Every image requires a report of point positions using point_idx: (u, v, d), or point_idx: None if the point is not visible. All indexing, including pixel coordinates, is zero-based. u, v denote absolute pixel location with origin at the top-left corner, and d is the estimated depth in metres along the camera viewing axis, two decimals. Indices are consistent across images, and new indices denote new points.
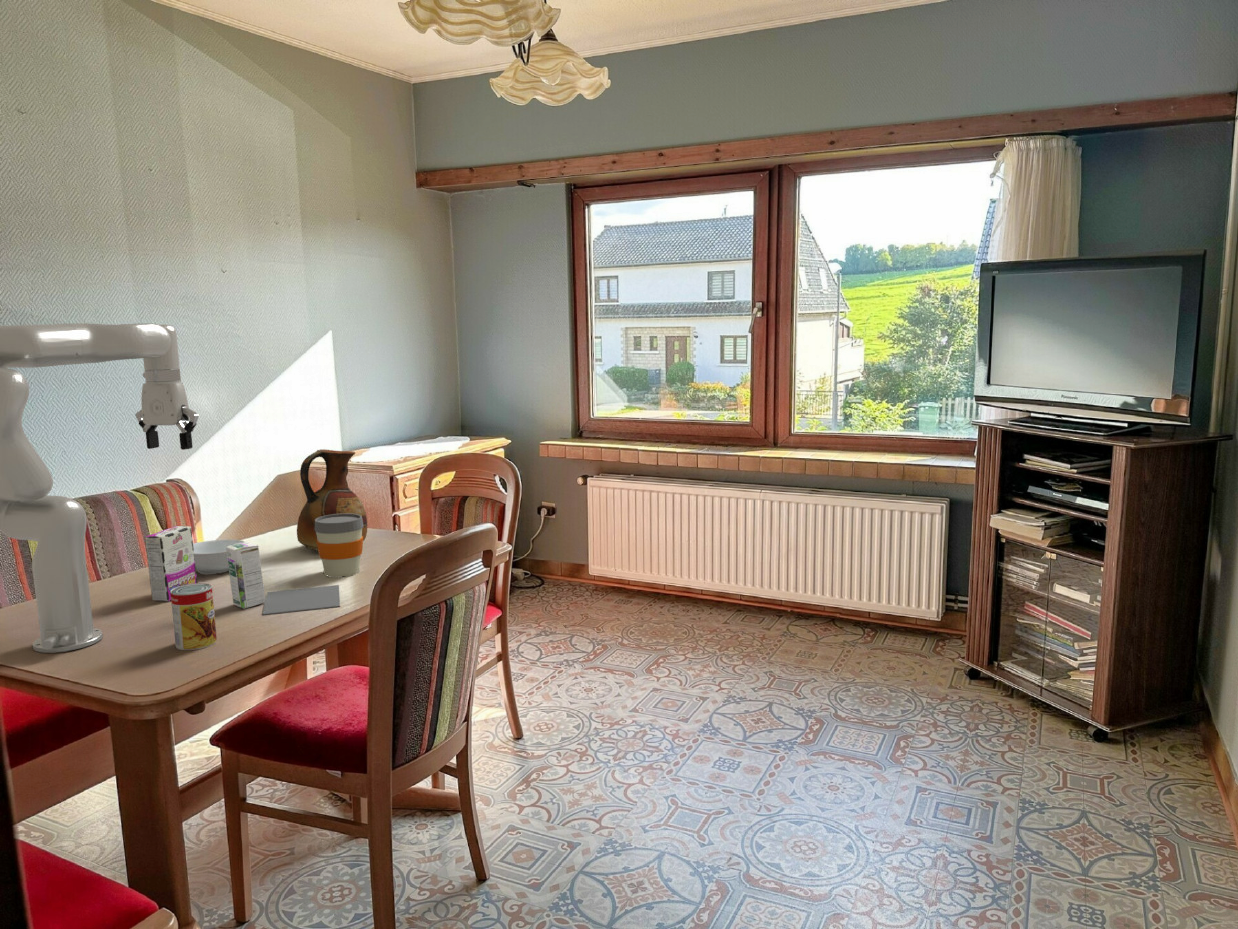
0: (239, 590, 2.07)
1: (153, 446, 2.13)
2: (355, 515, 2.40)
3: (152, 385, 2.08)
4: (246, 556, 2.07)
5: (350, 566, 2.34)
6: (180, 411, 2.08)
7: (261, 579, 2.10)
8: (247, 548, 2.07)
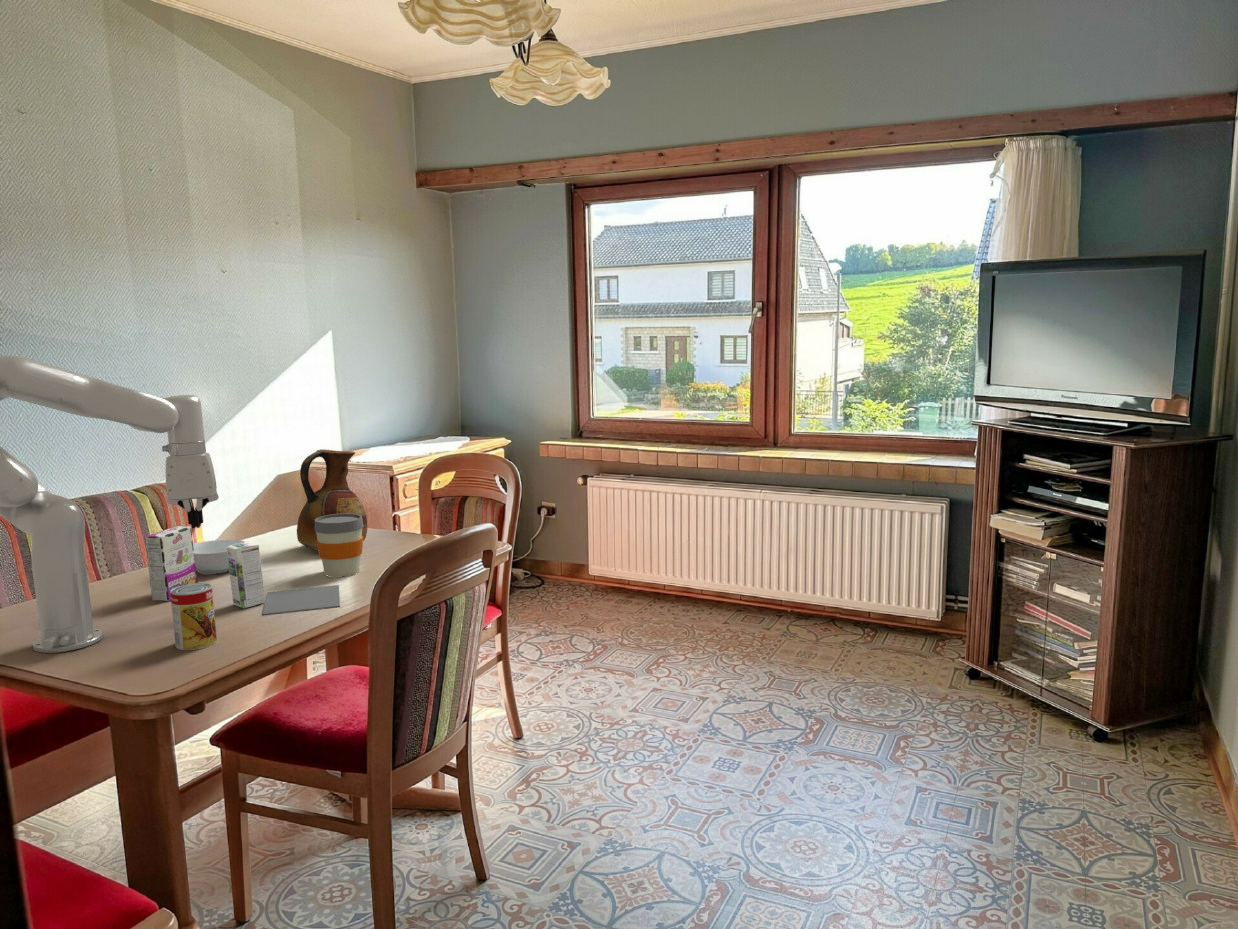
0: (239, 589, 2.07)
1: (195, 525, 2.05)
2: (355, 515, 2.40)
3: (183, 458, 2.00)
4: (246, 555, 2.07)
5: (350, 566, 2.34)
6: (214, 482, 2.05)
7: (261, 578, 2.11)
8: (248, 547, 2.08)
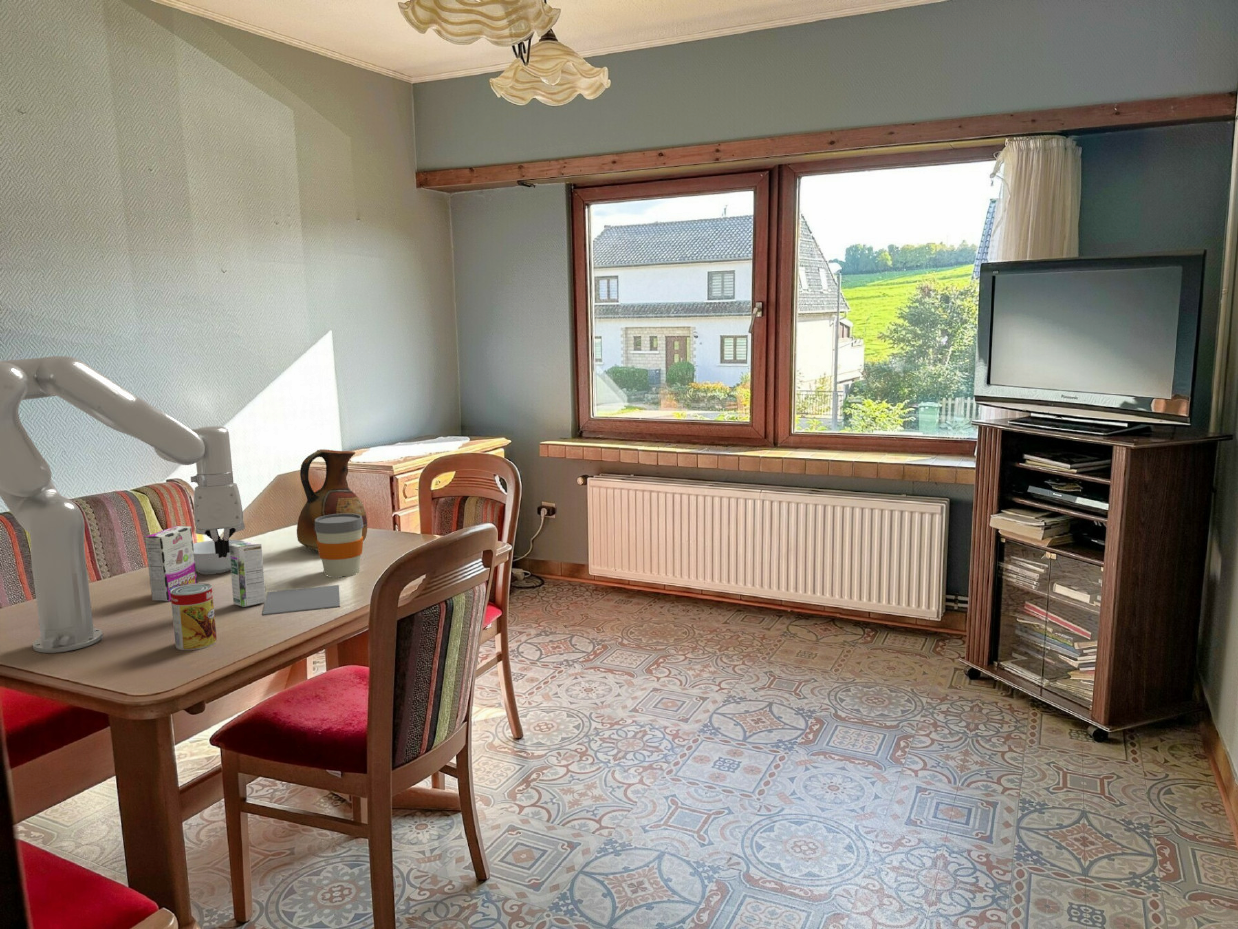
0: (240, 587, 2.08)
1: (222, 554, 2.08)
2: (355, 515, 2.40)
3: (211, 489, 2.03)
4: (249, 554, 2.08)
5: (350, 566, 2.34)
6: (241, 512, 2.07)
7: (262, 578, 2.11)
8: (250, 546, 2.09)
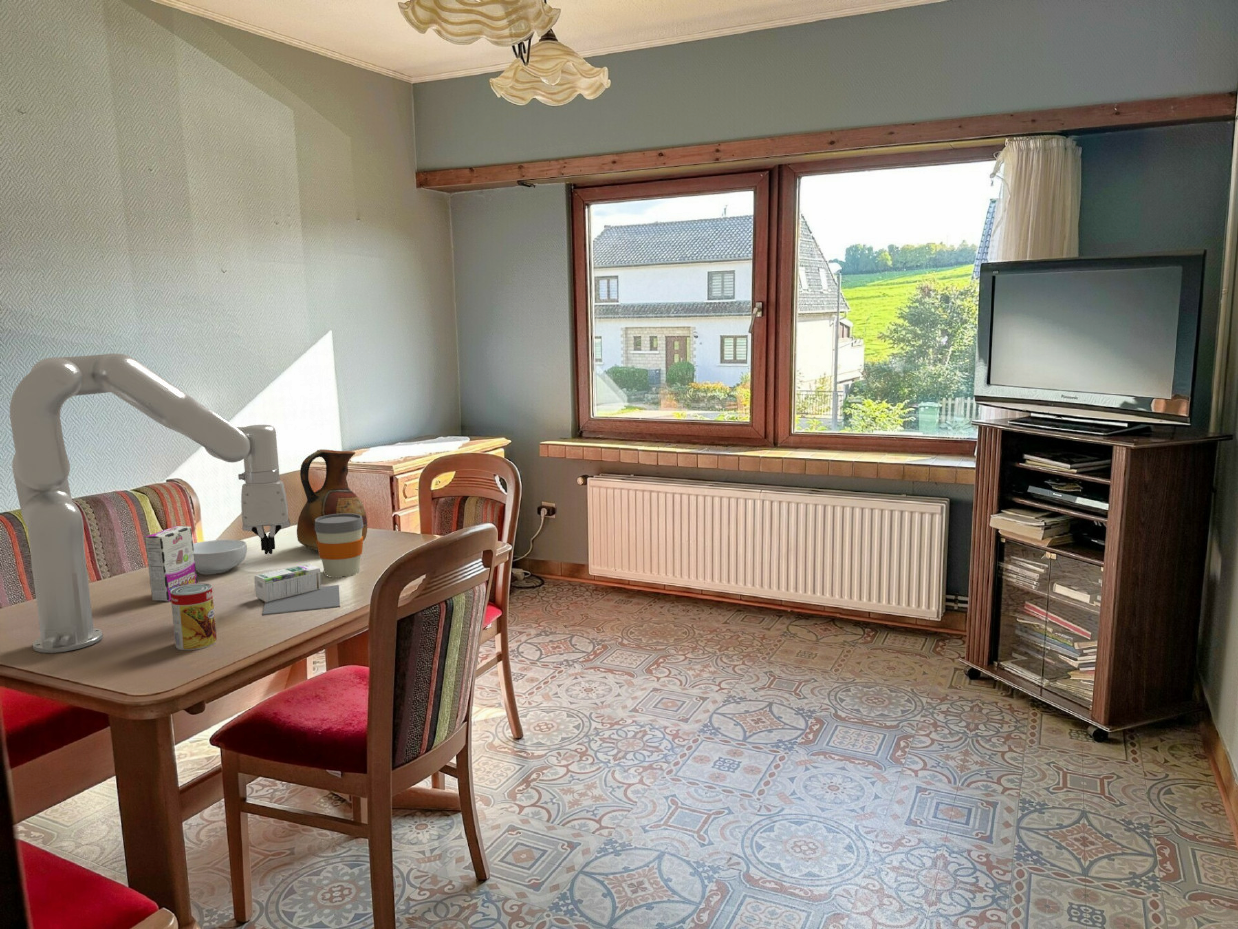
0: (282, 575, 2.14)
1: None
2: (355, 515, 2.40)
3: (258, 486, 2.06)
4: (313, 578, 2.20)
5: (350, 566, 2.34)
6: (287, 509, 2.10)
7: (289, 595, 2.16)
8: (319, 578, 2.21)
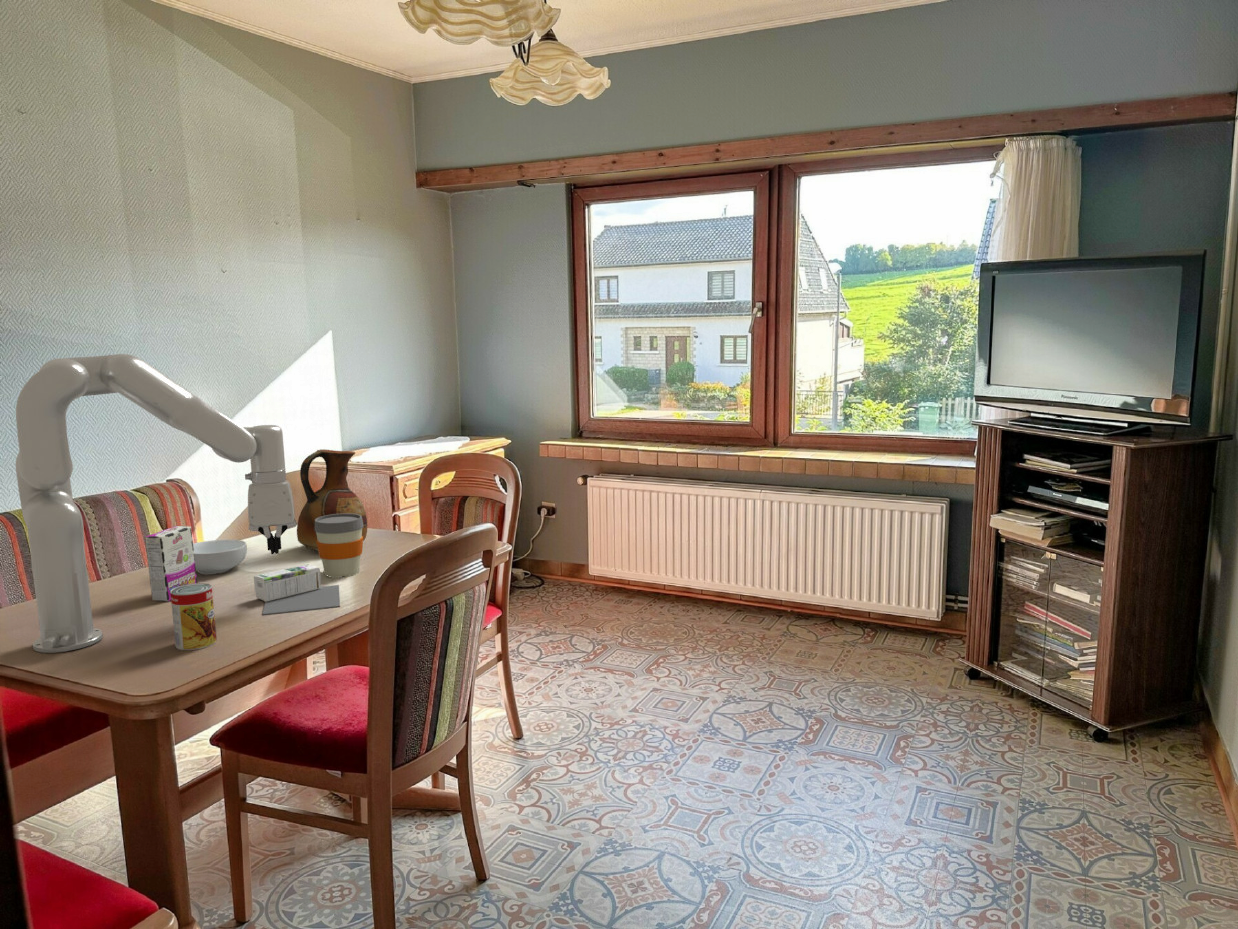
0: (281, 574, 2.15)
1: (274, 551, 2.11)
2: (355, 515, 2.40)
3: (265, 487, 2.07)
4: (312, 577, 2.20)
5: (350, 566, 2.34)
6: None
7: (289, 594, 2.16)
8: (319, 578, 2.22)
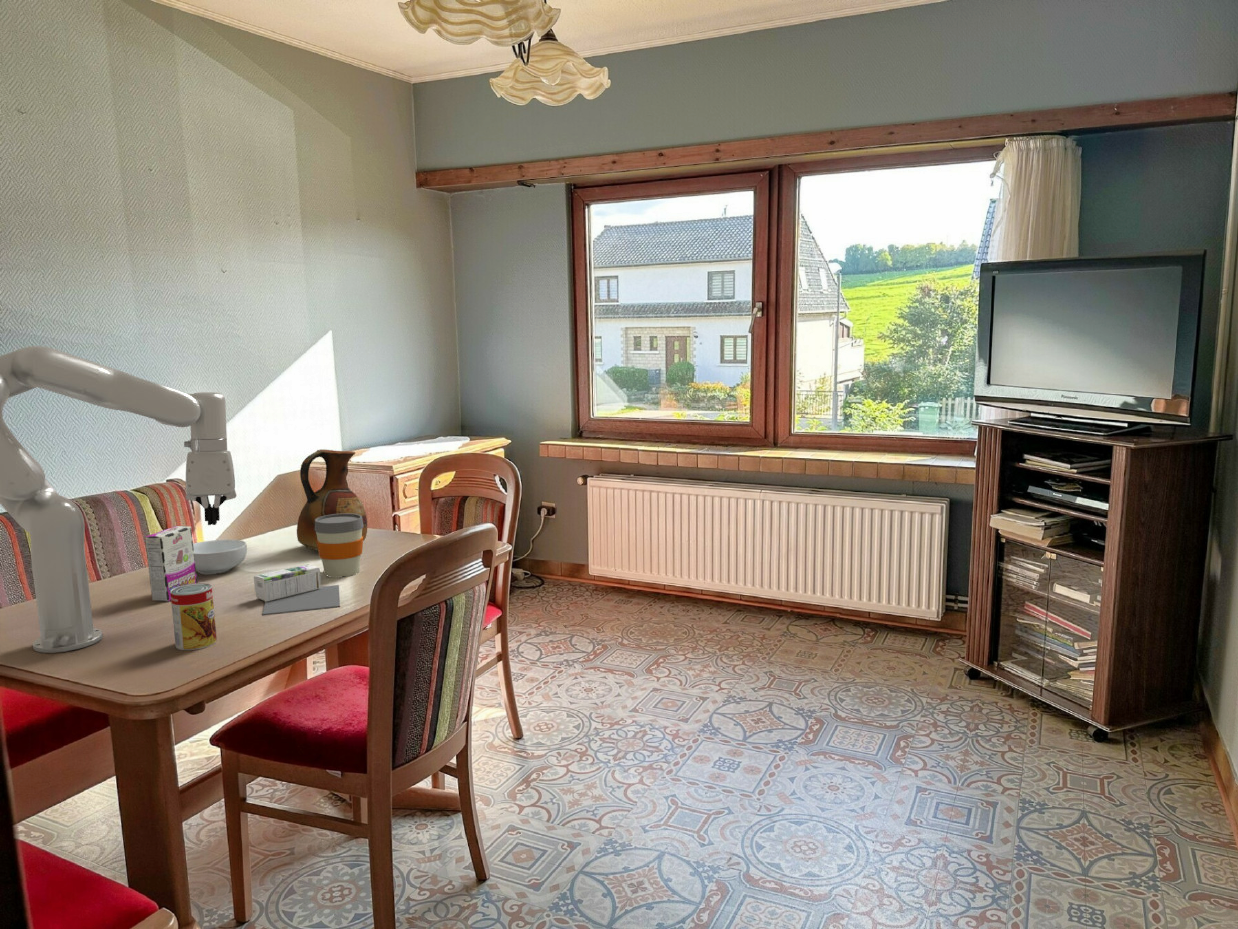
0: (281, 574, 2.15)
1: None
2: (355, 515, 2.40)
3: (204, 455, 2.01)
4: (312, 577, 2.20)
5: (350, 566, 2.34)
6: (233, 480, 2.05)
7: (289, 594, 2.16)
8: (319, 578, 2.22)
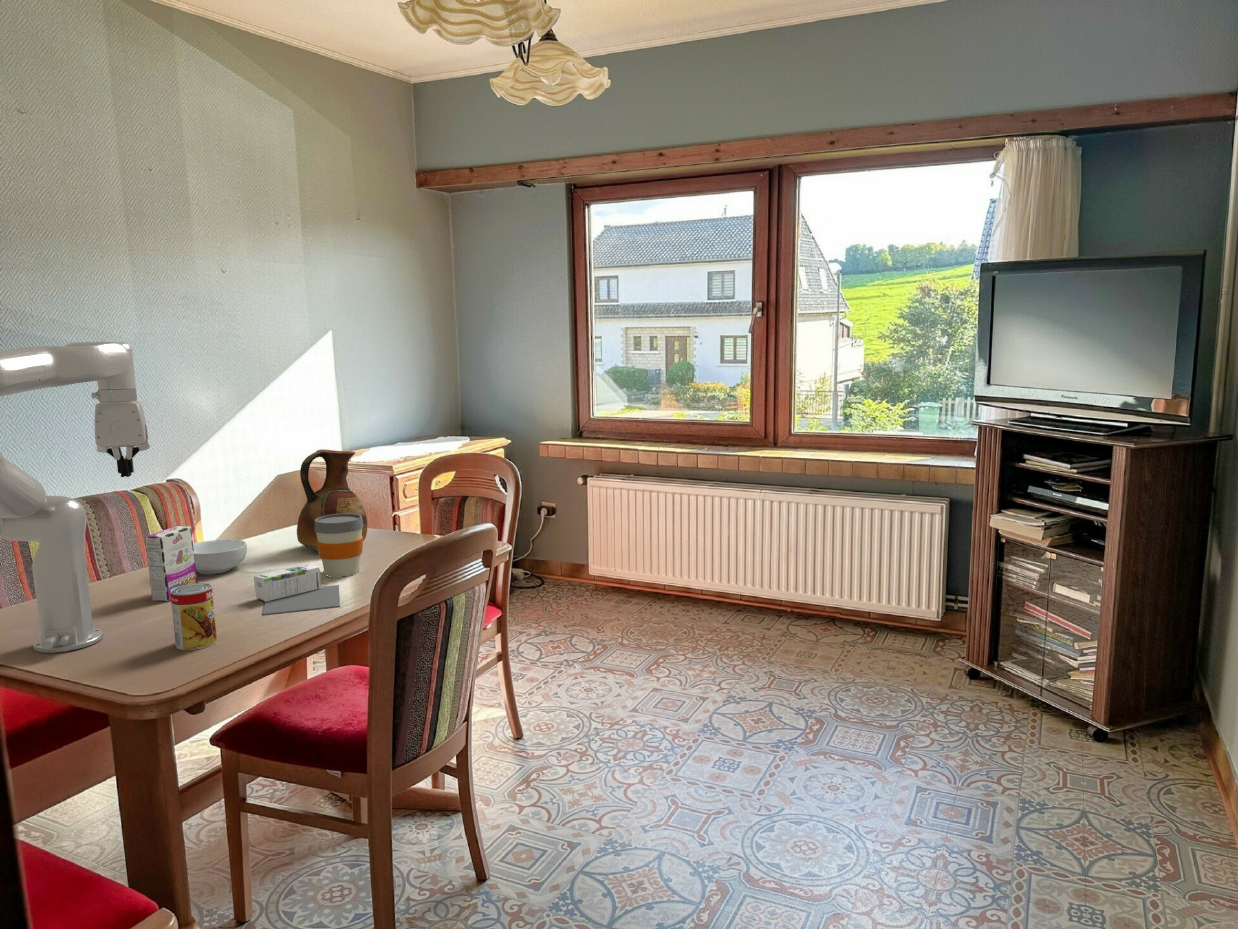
0: (281, 574, 2.15)
1: None
2: (355, 515, 2.40)
3: (112, 405, 1.99)
4: (312, 577, 2.20)
5: (350, 566, 2.34)
6: (145, 431, 2.03)
7: (289, 594, 2.16)
8: (319, 578, 2.22)
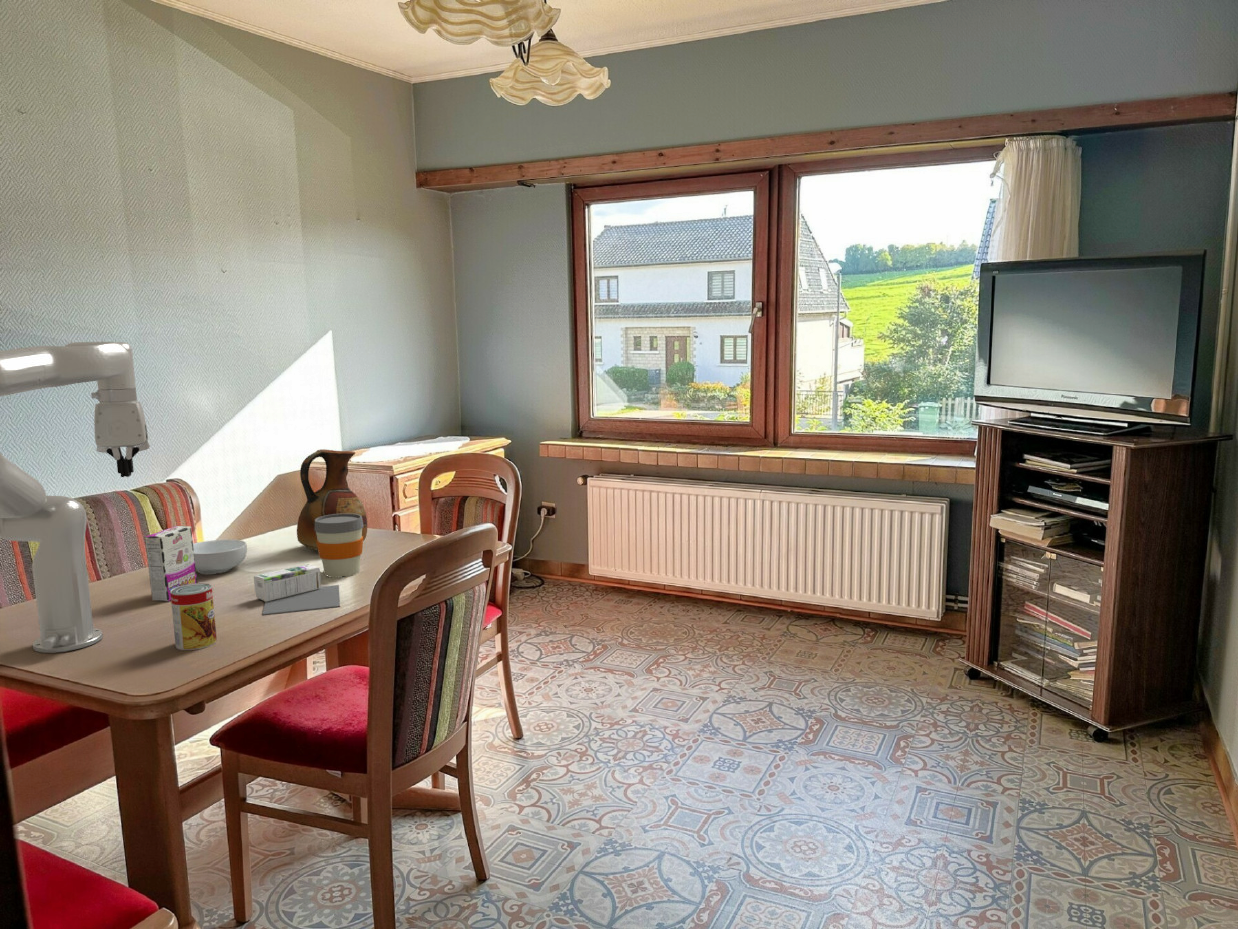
0: (281, 574, 2.15)
1: None
2: (355, 515, 2.40)
3: (112, 405, 1.99)
4: (312, 577, 2.20)
5: (350, 566, 2.34)
6: (145, 431, 2.03)
7: (289, 594, 2.16)
8: (319, 578, 2.22)
